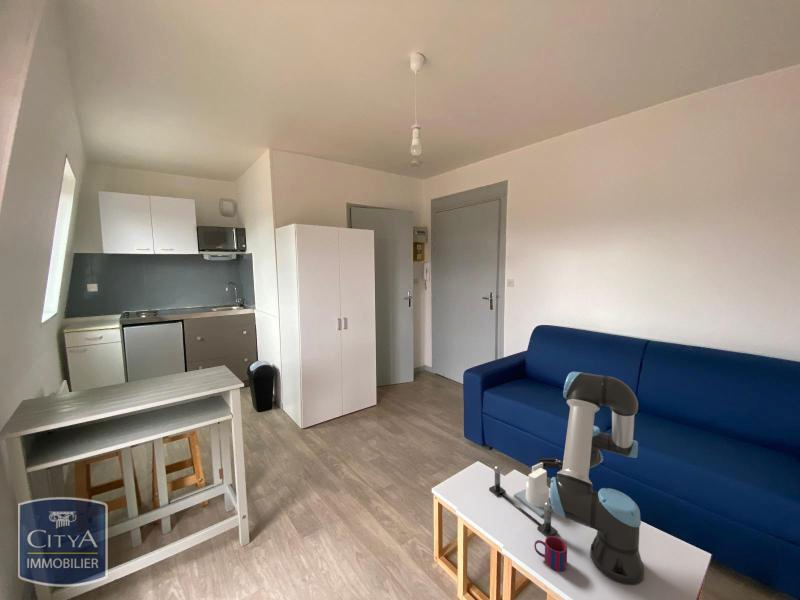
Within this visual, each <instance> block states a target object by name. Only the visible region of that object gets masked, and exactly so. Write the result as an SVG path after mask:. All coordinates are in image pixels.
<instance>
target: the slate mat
mask: <svg viewBox="0 0 800 600" xmlns="http://www.w3.org/2000/svg"><path fill="white" fill-rule="evenodd" d="M513 497H514V498H515V499H517V501H519V502H520V503H521V504H523V505H524V506H525V507H527V508H528V509H529V510H530V511H532V512H533V513H535V515H537V516H538V517H540V518H544V507H537V506H534V505H532V504H530V503H529V502H528V501H527V500H526V488H525V489H522V490H521V491H519V492H517V493H514V494H513ZM549 502H550V503H551V500H550V496H549ZM552 511H553V510H552ZM552 511H551V513H553V512H554V511H553V512H552Z"/></svg>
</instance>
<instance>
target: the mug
mask: <svg viewBox="0 0 800 600" xmlns="http://www.w3.org/2000/svg"><path fill="white" fill-rule="evenodd" d="M537 544H541V545H543V546H544V553H542V552H541V551H540V550H538V549H537ZM534 551H535V552H536V554H538V555H539V556H541V557H542V558H544V562H545V564H546V566H547V567H548V568H549V569H552V570H553V571H555V572H563V571H564V572H565V570H567V568H568V567H567V566H568V545H567V543H566V542H565V540H564V539H561V538H559V537H557V536H550V537H546V538H545V541H543V540H540V539H536V540H535V542H534Z"/></svg>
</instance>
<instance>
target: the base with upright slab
mask: <svg viewBox="0 0 800 600" xmlns="http://www.w3.org/2000/svg"><path fill="white" fill-rule="evenodd" d="M547 472H548V471H547V470H546V469H544V468H543V469H542V468H539V469H538V470H536V471H534V472H532V471H531V473H529V474H528V477H527V478H528V479H527V480H528V481H526V482H525V489H526V500H527V501H528V502H529V503H530V504H532V505H534V506H537V507H544V506H543V505H544V503H545V502H547V501H548V502H549V497H550V486H548V484H547V481H548V480H547V479H548V478H547V475H548V473H547Z"/></svg>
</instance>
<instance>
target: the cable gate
mask: <svg viewBox="0 0 800 600" xmlns="http://www.w3.org/2000/svg"><path fill="white" fill-rule="evenodd" d="M493 473H494V485H492V486H489V488H488V491H490V493H492V494H493V495H495V497H497V498H498V497H500V496H501V497H503V499H505V500H507V501H508V503H510V504H511V505H513V506H514V507H515V509H516V508H517V510H519V511H521V512H522V514H523V515H525V516H526V517H527V518H529V519H530V520H532V522H534V523H535V524H536V525H537V529H536V530H537V531H538V532H539V533H540V534H542V535H543V536H544V537H546V538H547V537H550V536H554V537H556V536H557V535H558V529H556V528H554V527H553V526H552V512H551V511H552V507H551V503H550V502H548V501H547V502H545V503H544V505H543V506H544V516H543V520H544V521H543V523H540V521H538V520H537V519H536V518H534V517H533V516H532V515H531V514H530V513H528V512H527V511H525V510H524V509H523V508H522V507H520V506H519V505H518V504H517V503H516V502H514V501H513V500H512V499H511V498H509V497H508V496H507V495H505V494H506V490H505V489H504V488H503V487H502V486H501V473H502V468H501V467H500V466H499V465H496V466H494V468H493Z"/></svg>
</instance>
